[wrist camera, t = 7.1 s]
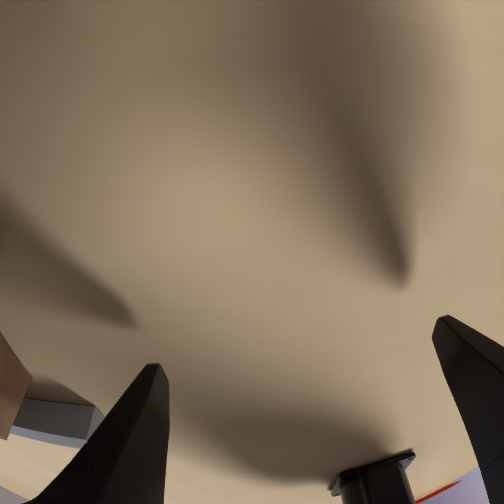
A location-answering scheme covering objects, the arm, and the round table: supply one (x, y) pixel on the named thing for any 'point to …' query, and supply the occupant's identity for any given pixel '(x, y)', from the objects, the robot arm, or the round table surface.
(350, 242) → the round table surface
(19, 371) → the walnut block
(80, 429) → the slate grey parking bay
